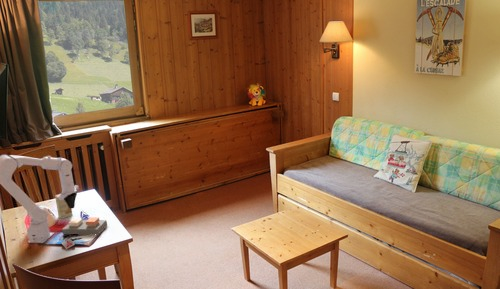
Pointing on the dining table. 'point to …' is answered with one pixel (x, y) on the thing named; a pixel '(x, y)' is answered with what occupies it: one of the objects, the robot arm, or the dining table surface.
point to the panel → (85, 228)
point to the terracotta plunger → (92, 222)
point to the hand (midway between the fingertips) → (71, 207)
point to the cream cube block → (75, 222)
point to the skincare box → (62, 208)
